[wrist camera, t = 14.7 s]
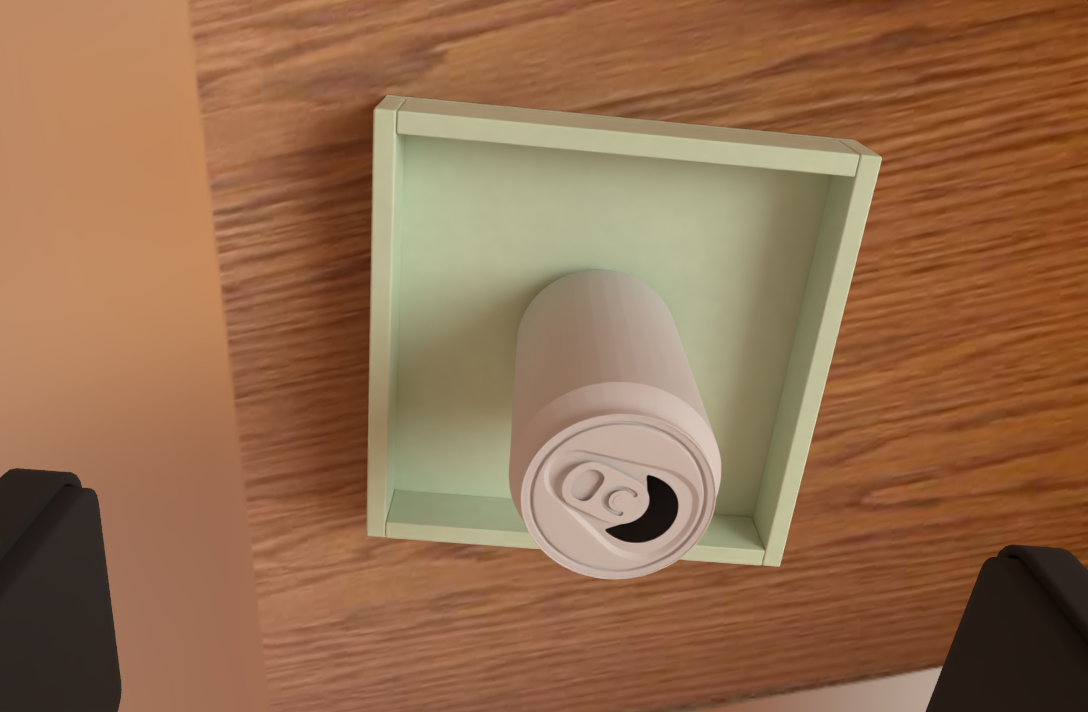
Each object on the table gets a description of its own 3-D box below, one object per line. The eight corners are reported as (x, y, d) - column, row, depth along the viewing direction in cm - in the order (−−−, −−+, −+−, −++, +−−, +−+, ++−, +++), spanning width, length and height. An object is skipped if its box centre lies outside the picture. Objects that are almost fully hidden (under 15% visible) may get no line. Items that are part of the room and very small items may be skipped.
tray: (377, 496, 41) (366, 537, 38) (386, 94, 33) (372, 108, 31) (764, 526, 41) (780, 567, 39) (855, 139, 34) (883, 157, 31)
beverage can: (617, 431, 39) (649, 623, 28) (487, 360, 37) (466, 533, 26) (704, 312, 36) (776, 471, 25) (569, 232, 35) (585, 364, 24)
